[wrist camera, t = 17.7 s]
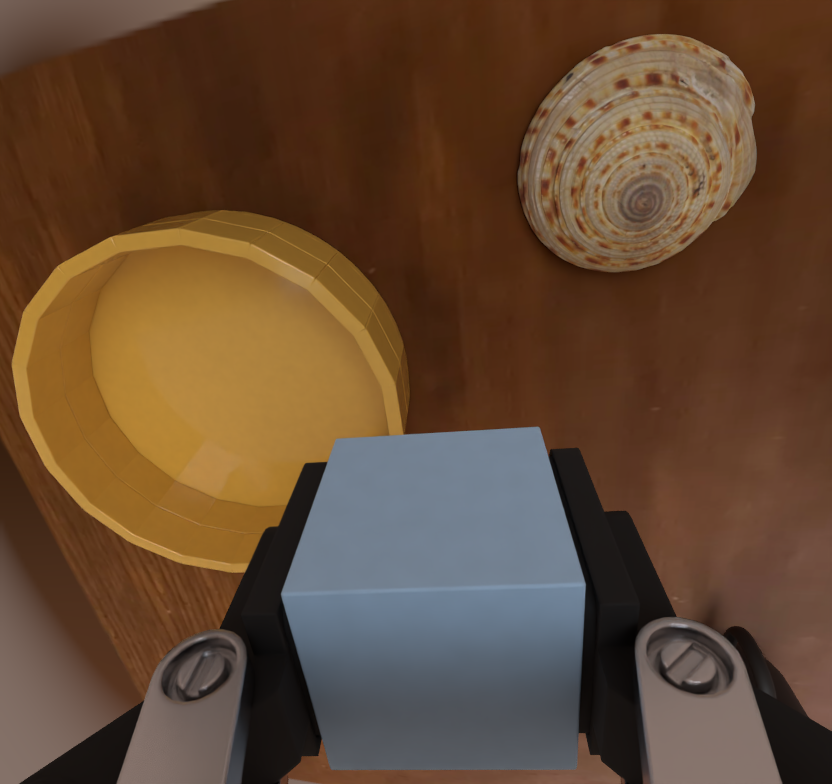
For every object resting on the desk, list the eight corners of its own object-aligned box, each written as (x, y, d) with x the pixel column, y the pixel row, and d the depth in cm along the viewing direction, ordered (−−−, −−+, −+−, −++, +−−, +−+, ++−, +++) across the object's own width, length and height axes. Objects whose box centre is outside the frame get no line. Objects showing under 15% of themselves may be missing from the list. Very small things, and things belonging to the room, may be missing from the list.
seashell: (825, 156, 20) (674, 313, 19) (707, 184, 25) (587, 307, 25) (708, -54, 17) (533, 122, 17) (605, 27, 23) (471, 162, 22)
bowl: (30, 232, 25) (-62, 257, 20) (383, 188, 23) (367, 204, 19) (150, 515, 32) (101, 580, 27) (426, 497, 30) (423, 563, 26)
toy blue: (335, 437, 11) (279, 594, 7) (539, 425, 10) (586, 584, 7) (363, 586, 13) (330, 771, 9) (539, 580, 12) (577, 771, 9)
